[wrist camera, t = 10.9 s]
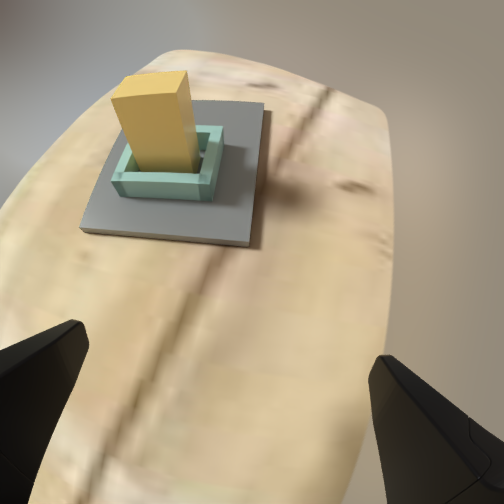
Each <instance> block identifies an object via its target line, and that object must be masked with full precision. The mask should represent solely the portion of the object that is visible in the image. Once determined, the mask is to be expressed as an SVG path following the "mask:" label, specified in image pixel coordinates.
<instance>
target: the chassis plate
mask: <svg viewBox="0 0 504 504" xmlns="http://www.w3.org/2000/svg"><path fill="white" fill-rule="evenodd" d="M191 101H192V108H193V114H194V120H195V126H196V132H197V138H198V144H199V150H200V156H201V158H200V162H199V166H198V171H197V174H192V173H165V172H141V171H140V169H139V167H138V164H137V162H136V160H135V157H134V155H133V153H132V150H131V148H130V146H129V143H128V141H127V139H126V136H125V134H124V131H123V129H122V130H121V132H120V134H119V136H118V138H117V139H116V141H115V143H114V145H113V147H112V149H111V152H110V154H109V156H108V158H107V160H106V162H105V164H104V166H103V169H102V171H101V173H100V175H99V178H98V180H97V182H96V185H95V187H94V189H93V192H92V194H91V197H90V199H89V202H88V204H87V207H86V209H85V212H84V215H83V218H82V220H81V223H80V226H79V228H80V229H81V230H82V231H83V232H88V233H100V234H111V235H123V236H134V237H145V238H156V239H167V240H178V241H189V242H200V243H211V244H222V245H233V246H244V247H249V242H250V232H251V223H252V214H253V204H254V195H255V186H256V176H257V167H258V158H259V149H260V140H261V131H262V122H263V112H264V103H257V102H241V101H216V100H191Z"/></svg>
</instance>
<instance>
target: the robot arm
mask: <svg viewBox="0 0 504 504" xmlns="http://www.w3.org/2000/svg"><path fill="white" fill-rule="evenodd" d="M88 349H89V340H88V337H87V333H86V330H85V326H84V324H83V323H82V322H81V321H77V320H73V319H71V320H69V321H66V322H64V323H62V324H59V325H57V326H55V327H52V328H50V329H48V330H46V331H43V332H41V333H39V334H36V335H34V336H32V337H30V338H27V339H25V340H23V341H20V342H18V343H16V344H14V345H11V346H9V347H7V348H5V349H2V350H0V504H28V501H29V498H30V494H31V491H32V488H33V485H34V482H35V479H36V476H37V473H38V470H39V468H40V465H41V462H42V459H43V457H44V454H45V452H46V449H47V447H48V444H49V442H50V439H51V437H52V434H53V432H54V430H55V427H56V425H57V423H58V420H59V418H60V416H61V414H62V411H63V409H64V407H65V405H66V403H67V401H68V398H69V396H70V394H71V392H72V390H73V388H74V386H75V383H76V380H77V378H78V375H79V372H80V370H81V367H82V364H83V362H84V359H85V357H86V354H87V352H88ZM368 383H369V391H370V400H371V409H372V419H373V425H374V431H375V435H376V440H377V445H378V450H379V456H380V461H381V467H382V472H383V478H384V484H385V491H386V498H387V504H504V442H503V441H501V440H500V439H499V438H497V437H496V436H494V435H493V434H491V433H490V432H488V431H487V430H485V429H484V428H483V427H482V426H480V425H479V424H478V423H476V422H475V421H474V420H473V419H471V418H470V417H469V418H468V415H466V414H465V413H464V412H463V411H461V410H460V409H459V408H458V407H456V406H455V405H454V404H452V403H451V402H450V401H449V400H448V399H446V398H445V397H444V396H443V395H441V394H440V393H439V392H437V391H436V390H435V389H434V388H432V387H431V386H430V385H429V384H427V383H426V382H425V381H424V380H422V379H421V378H420V377H419V376H417V375H416V374H415V373H413V372H412V371H411V370H410V369H408V368H407V367H406V366H405V365H403V364H402V363H401V362H400V361H398V360H397V359H396V358H394V357H393V356H392V355H379V356H378V357H377V358H376V360H375V363H374V365H373V367H372V369H371V371H370V374H369V378H368Z"/></svg>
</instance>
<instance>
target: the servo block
mask: <svg viewBox="0 0 504 504" xmlns="http://www.w3.org/2000/svg"><path fill="white" fill-rule="evenodd" d="M111 101H112V104H113V106H114V109H115V111H116V114H117V117H118V119H119V122H120V124H121V126H122V129H123V131H124V134H125V136H126V139H127V141H128V143H129V146H130V148H131V150H132V153H133V155H134V157H135V160H136V162H137V164H138V167H139V169H140V171H141V172H165V173H192V174H197V171H198V166H199V162H200V158H201V156H200V150H199V144H198V138H197V132H196V126H195V120H194V114H193V108H192V101H191V95H190V88H189V82H188V75H187V71H171V72H159V73H149V74H140V75H133V76H126V77H125V78H124V80H123V81H122V83H121V84H120V85H119V87H118V88H117V90H116V91H115V93H114V94H113V96H112V97H111Z"/></svg>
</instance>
